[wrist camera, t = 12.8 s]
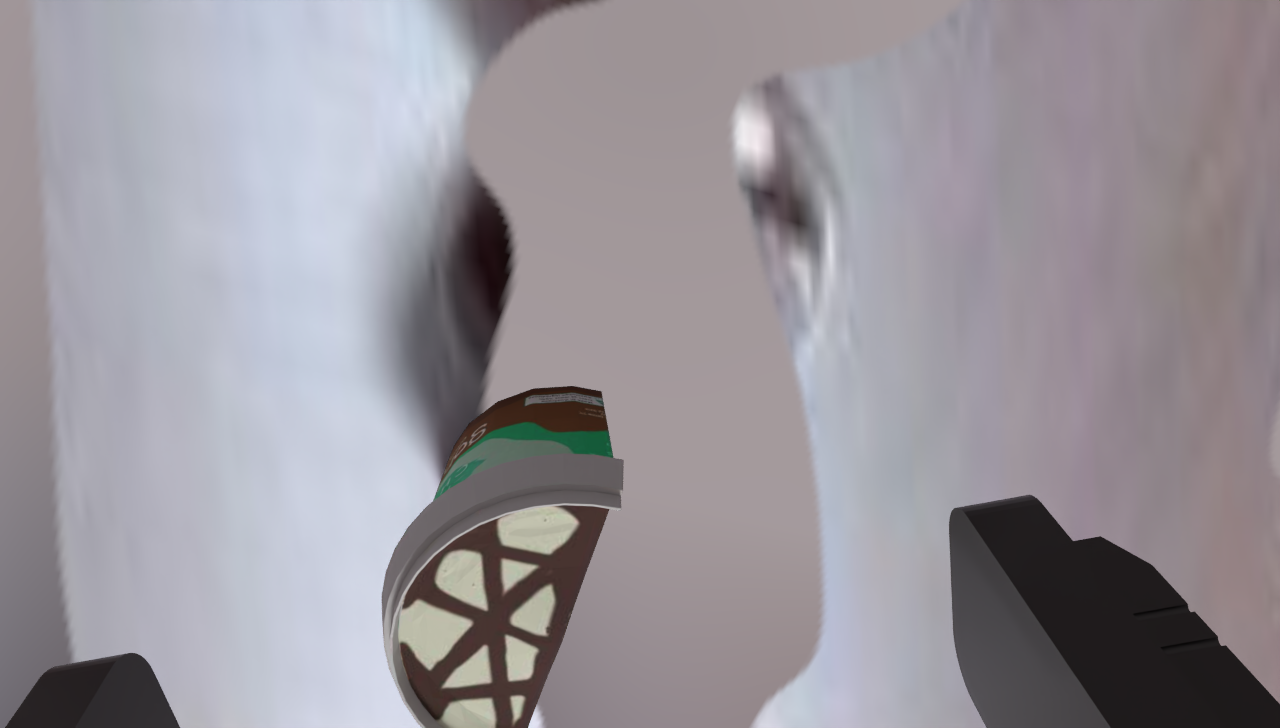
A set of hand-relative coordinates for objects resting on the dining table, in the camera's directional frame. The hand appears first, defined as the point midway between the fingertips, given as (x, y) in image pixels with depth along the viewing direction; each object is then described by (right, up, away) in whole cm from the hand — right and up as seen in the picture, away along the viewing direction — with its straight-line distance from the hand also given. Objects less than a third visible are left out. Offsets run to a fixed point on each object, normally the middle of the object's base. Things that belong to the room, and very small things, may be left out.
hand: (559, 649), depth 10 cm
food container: (-5, -1, +30) cm, 31 cm away
